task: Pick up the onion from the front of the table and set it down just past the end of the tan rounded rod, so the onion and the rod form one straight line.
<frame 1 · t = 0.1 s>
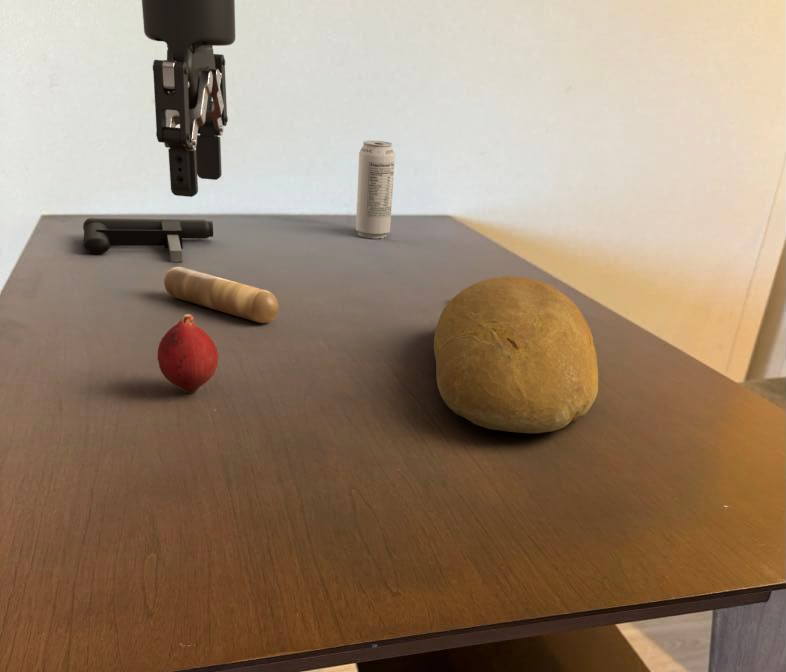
hand: (197, 186, 78), 19 cm above the table, tool pointing down, fingers open, 8 cm apart
bread: (512, 383, 95), on the table
door handle: (151, 249, 132), on the table
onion: (190, 394, 87), on the table
energy drink can: (372, 236, 150), on the table
phone: (510, 311, 118), on the table
tan rounded rod: (220, 309, 109), on the table
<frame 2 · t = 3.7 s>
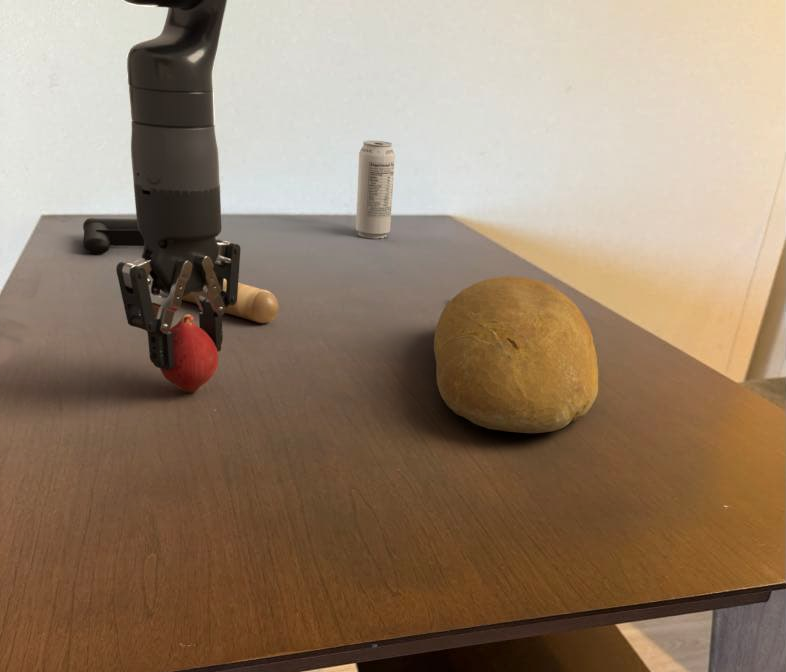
hand: (187, 358, 85), 4 cm above the table, tool pointing down, fingers closed on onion, 6 cm apart
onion: (190, 394, 87), on the table, touching gripper
everything else where it was.
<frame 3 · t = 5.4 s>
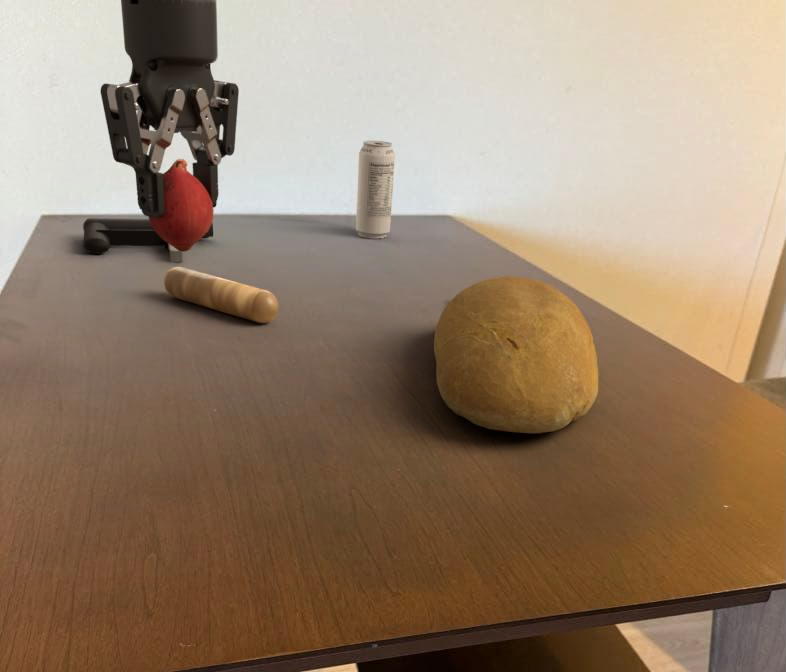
hand: (180, 210, 77), 18 cm above the table, tool pointing down, fingers closed on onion, 6 cm apart
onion: (182, 253, 79), point 14 cm above the table, touching gripper
everything else where it was.
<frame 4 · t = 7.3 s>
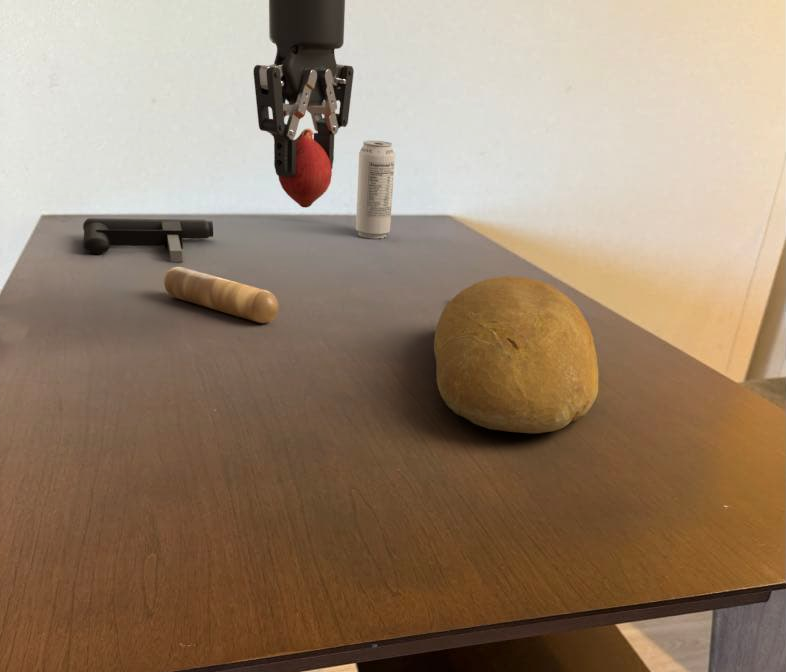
hand: (304, 172, 93), 19 cm above the table, tool pointing down, fingers closed on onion, 6 cm apart
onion: (304, 209, 95), point 15 cm above the table, touching gripper
everything else where it was.
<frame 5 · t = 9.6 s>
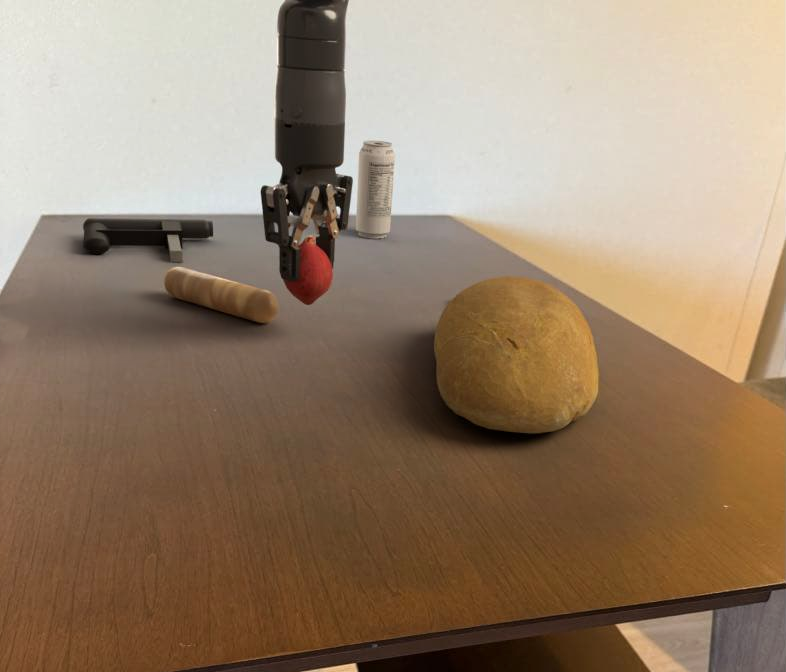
hand: (307, 274, 100), 7 cm above the table, tool pointing down, fingers closed on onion, 6 cm apart
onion: (307, 306, 102), point 4 cm above the table, touching gripper
everything else where it was.
when the fingers open (4 cm above the table, at t = 11.1 s): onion stays where it is, on the table.
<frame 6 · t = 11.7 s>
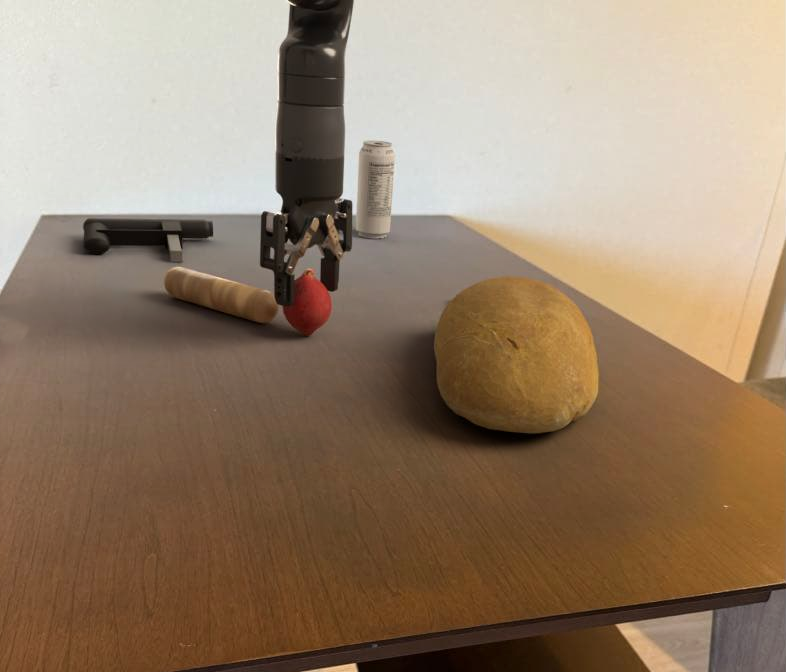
hand: (307, 297, 101), 5 cm above the table, tool pointing down, fingers open, 8 cm apart
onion: (306, 337, 104), on the table
everything else where it was.
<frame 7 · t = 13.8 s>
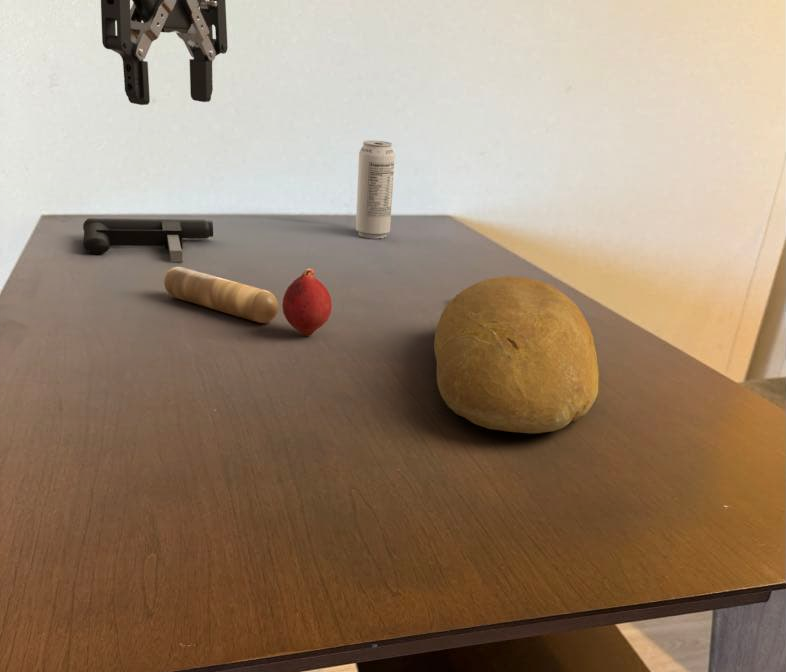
hand: (171, 102, 85), 25 cm above the table, tool pointing down, fingers open, 8 cm apart
nothing on the table moved.
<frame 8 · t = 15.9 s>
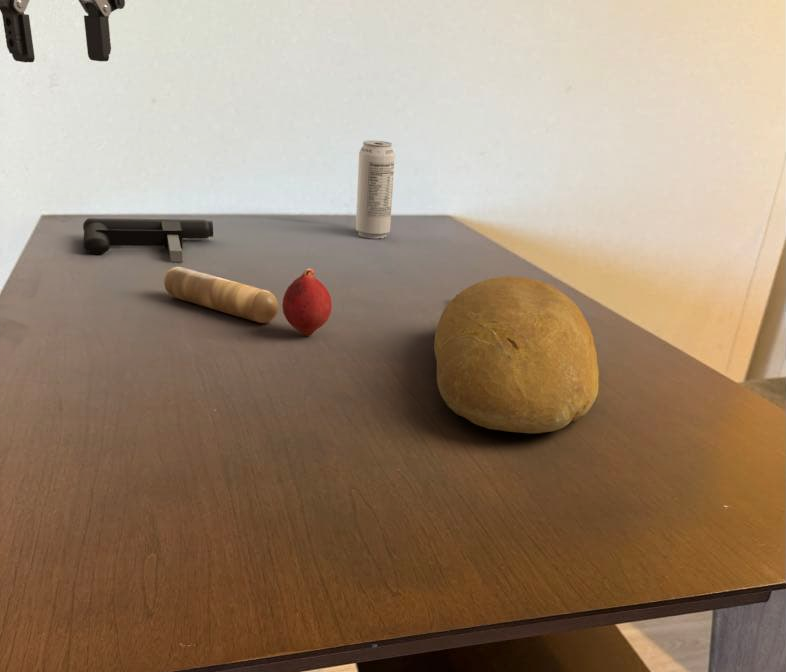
hand: (62, 61, 80), 28 cm above the table, tool pointing down, fingers open, 8 cm apart
nothing on the table moved.
at the end: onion 0.1 cm from the target spot on the table beside the tan rounded rod, on the table; the gripper is holding nothing; tan rounded rod moved 0.0 cm from its start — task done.
